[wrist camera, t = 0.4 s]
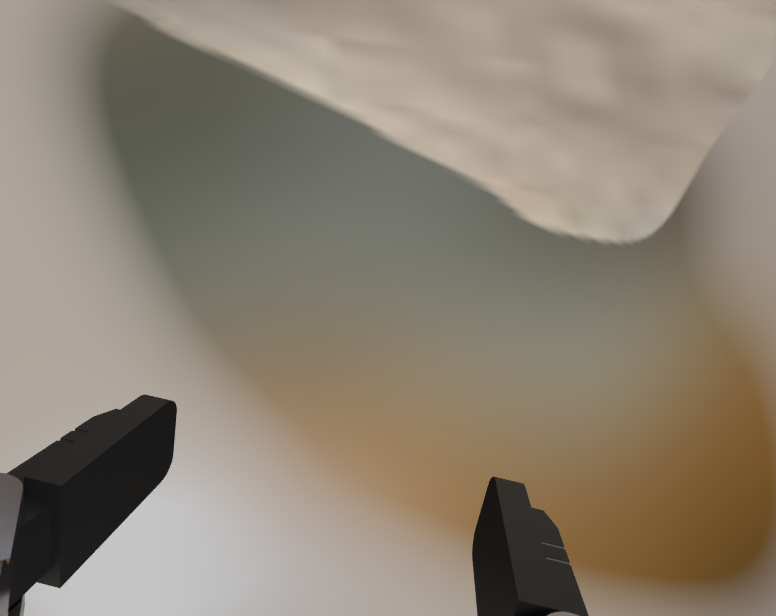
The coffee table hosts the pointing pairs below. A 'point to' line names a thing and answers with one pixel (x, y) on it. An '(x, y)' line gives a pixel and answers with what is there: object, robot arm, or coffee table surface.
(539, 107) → the coffee table surface
